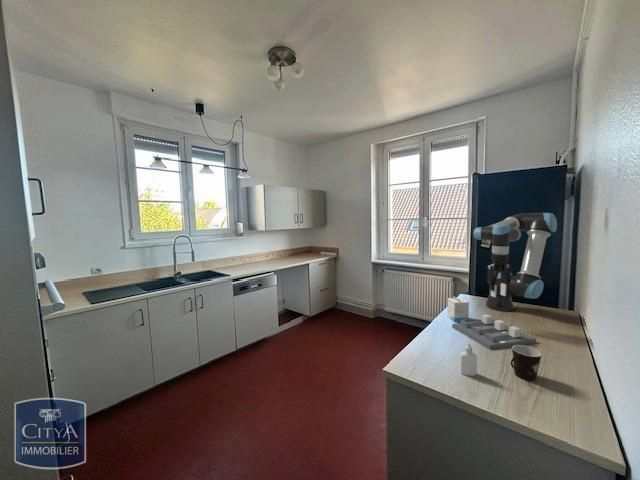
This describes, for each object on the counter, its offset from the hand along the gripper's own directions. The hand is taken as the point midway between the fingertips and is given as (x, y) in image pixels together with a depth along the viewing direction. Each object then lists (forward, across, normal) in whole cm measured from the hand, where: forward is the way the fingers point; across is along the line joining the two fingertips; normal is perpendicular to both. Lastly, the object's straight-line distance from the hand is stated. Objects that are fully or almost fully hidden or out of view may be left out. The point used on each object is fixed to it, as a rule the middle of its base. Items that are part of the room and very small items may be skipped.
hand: (498, 295), depth 141 cm
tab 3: (+14, +7, +16) cm, 23 cm away
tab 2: (+14, +7, +8) cm, 18 cm away
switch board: (+17, +12, +8) cm, 22 cm away
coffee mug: (+17, +30, +39) cm, 52 cm away
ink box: (+17, +14, -13) cm, 26 cm away
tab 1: (+14, +7, 0) cm, 16 cm away
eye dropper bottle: (+17, +48, +33) cm, 61 cm away
